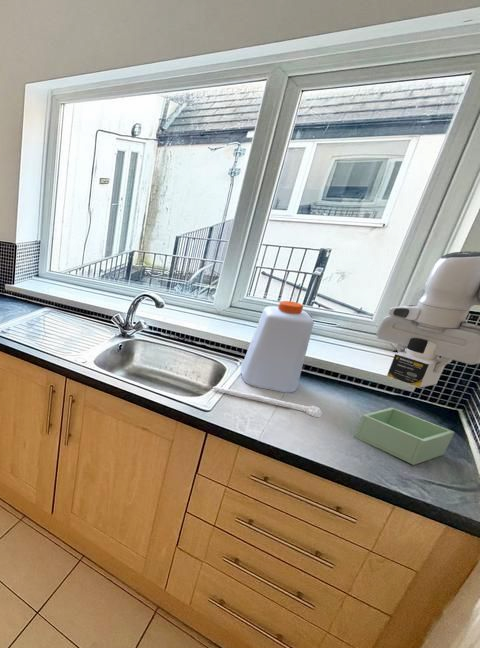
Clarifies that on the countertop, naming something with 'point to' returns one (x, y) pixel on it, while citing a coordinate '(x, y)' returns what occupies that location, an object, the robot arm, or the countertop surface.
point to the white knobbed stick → (273, 401)
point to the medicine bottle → (416, 364)
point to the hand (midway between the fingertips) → (417, 366)
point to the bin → (403, 435)
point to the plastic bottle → (278, 348)
